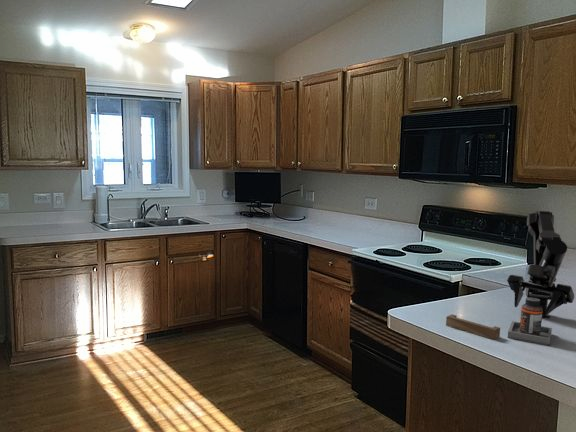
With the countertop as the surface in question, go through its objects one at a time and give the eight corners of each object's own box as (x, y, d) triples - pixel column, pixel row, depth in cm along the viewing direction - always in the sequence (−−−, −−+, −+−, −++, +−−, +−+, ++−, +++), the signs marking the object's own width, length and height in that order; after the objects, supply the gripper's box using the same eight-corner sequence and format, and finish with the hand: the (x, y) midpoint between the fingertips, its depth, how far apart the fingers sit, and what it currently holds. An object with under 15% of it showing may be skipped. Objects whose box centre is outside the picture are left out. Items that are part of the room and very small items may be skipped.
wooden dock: (451, 323, 167) (452, 314, 166) (499, 337, 155) (500, 327, 154) (445, 325, 164) (446, 316, 164) (494, 339, 152) (494, 330, 152)
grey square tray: (511, 327, 164) (512, 321, 164) (551, 334, 159) (551, 327, 159) (507, 337, 154) (508, 331, 154) (549, 345, 149) (550, 339, 149)
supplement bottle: (515, 330, 159) (518, 296, 158) (533, 330, 160) (536, 296, 158) (525, 337, 154) (528, 301, 152) (544, 337, 154) (547, 301, 153)
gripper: (512, 250, 163) (493, 288, 157) (574, 260, 149) (557, 302, 143) (520, 270, 169) (503, 308, 163) (581, 281, 156) (564, 323, 150)
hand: (530, 310), depth 155 cm, fingers open, 9 cm apart
